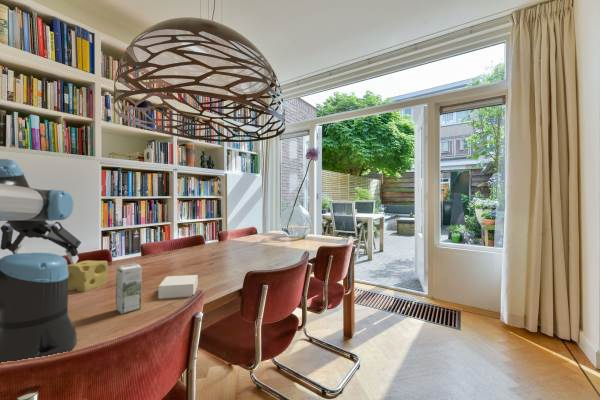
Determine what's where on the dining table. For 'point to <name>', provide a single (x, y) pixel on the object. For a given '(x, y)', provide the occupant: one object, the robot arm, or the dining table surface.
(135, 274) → the syrup box
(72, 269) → the cheese
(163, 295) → the cream block
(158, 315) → the dining table surface
